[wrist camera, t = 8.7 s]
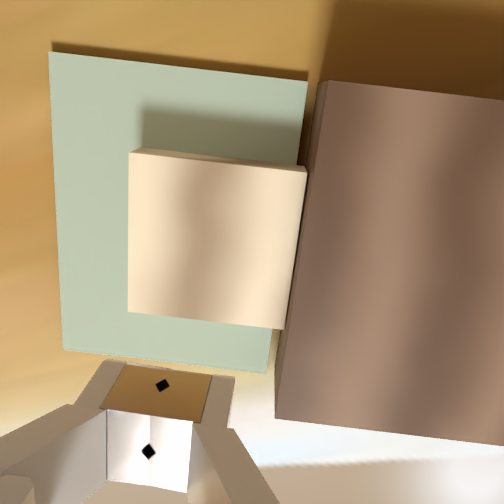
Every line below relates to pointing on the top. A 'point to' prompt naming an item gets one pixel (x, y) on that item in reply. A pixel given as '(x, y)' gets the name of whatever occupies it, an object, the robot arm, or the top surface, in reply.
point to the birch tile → (212, 236)
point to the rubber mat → (116, 191)
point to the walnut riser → (399, 267)
